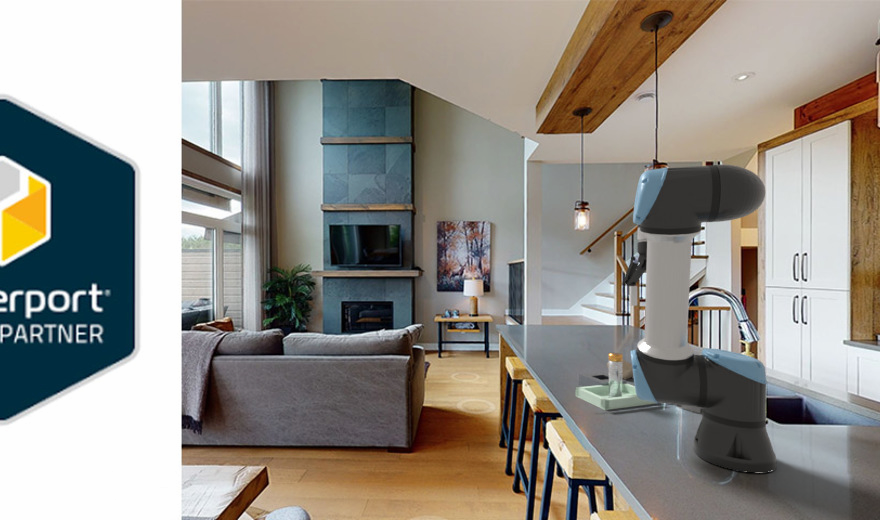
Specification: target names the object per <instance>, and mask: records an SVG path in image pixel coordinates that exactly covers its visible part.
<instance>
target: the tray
mask: <svg viewBox="0 0 880 520" xmlns="http://www.w3.org/2000/svg"><path fill="white" fill-rule="evenodd" d="M575 397H576V398H578V399H580V400H582V401H585V402H587V403H589V404H592V405H593V406H596V407H598V408H599V409H601V410H604V411H608V410H616V409H617V410H618V409H622V408H631V407H638V406H647V405H654V404H657V403H655V402H651V401H645V400H641V399H640V398H639V397H638V396H637V395H636V391H635V385H632V384H630V383H628V382H627V383H623V384H622V397H613V398H608V397H609V385H604V386H602V385H596V386H586V387H584V386H578V387H575Z"/></svg>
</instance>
